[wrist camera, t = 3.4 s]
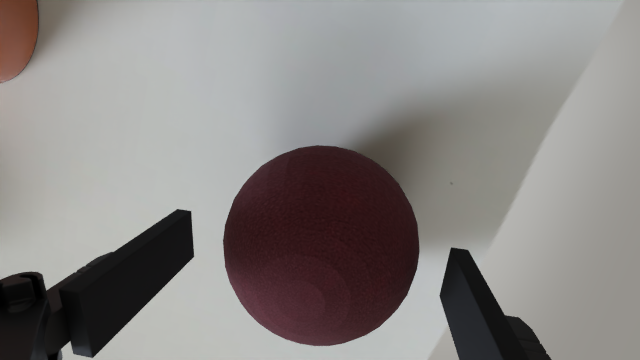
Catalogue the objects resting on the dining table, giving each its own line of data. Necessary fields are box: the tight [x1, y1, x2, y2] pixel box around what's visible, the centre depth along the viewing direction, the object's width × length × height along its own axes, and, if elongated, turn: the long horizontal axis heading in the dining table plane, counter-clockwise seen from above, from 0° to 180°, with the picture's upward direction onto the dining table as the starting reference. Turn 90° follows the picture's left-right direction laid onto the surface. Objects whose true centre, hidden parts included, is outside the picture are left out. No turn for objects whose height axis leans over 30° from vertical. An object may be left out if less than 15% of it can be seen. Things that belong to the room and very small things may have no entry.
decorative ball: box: [223, 146, 419, 346], centre depth 17 cm, size 10×10×10 cm
